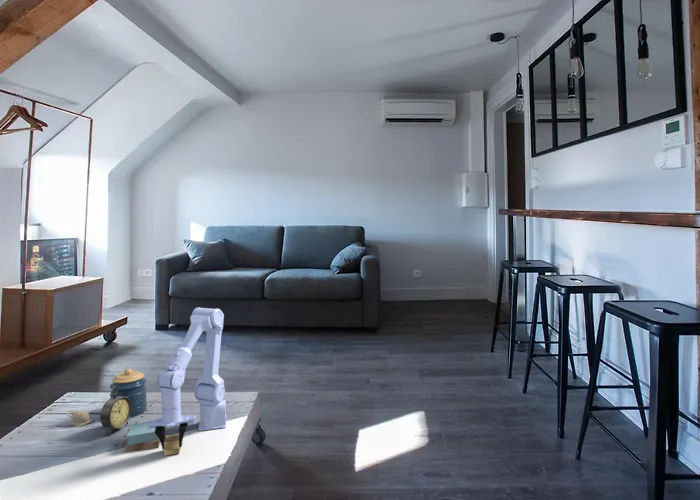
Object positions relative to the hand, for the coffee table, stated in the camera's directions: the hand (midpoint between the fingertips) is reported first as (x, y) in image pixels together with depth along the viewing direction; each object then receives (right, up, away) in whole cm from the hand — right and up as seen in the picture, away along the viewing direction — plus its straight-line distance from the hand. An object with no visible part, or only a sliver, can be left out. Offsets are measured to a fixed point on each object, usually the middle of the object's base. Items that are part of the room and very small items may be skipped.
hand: (172, 446), depth 134 cm
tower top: (-12, +1, +6) cm, 13 cm away
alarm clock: (-27, -1, +15) cm, 31 cm away
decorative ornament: (-44, -1, +20) cm, 48 cm away
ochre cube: (0, -1, 0) cm, 1 cm away
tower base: (-12, -2, +6) cm, 14 cm away
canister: (-30, -1, +30) cm, 43 cm away
